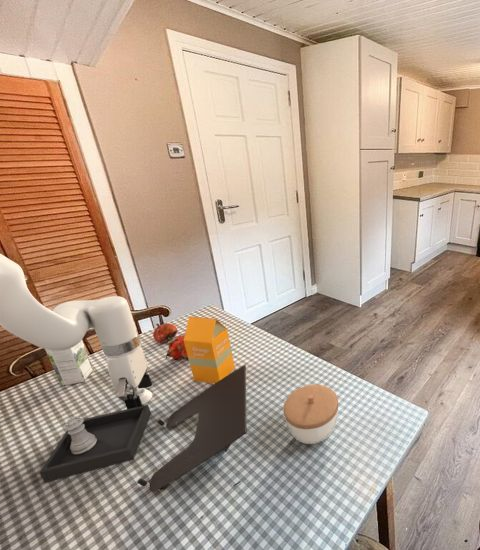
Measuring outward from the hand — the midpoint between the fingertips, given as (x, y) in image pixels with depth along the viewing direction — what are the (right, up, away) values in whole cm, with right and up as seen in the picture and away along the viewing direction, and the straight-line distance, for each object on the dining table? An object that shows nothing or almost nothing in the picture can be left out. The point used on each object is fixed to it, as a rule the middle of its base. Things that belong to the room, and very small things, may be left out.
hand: (140, 397), depth 83 cm
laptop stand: (+24, -6, -11) cm, 27 cm away
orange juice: (+15, +3, +10) cm, 19 cm away
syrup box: (-26, +2, +9) cm, 27 cm away
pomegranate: (-10, +9, +27) cm, 30 cm away
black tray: (+1, -6, -12) cm, 14 cm away
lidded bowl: (+49, -5, -9) cm, 50 cm away
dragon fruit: (+1, +6, +19) cm, 20 cm away
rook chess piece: (-3, -6, -13) cm, 15 cm away
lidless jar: (0, -1, 0) cm, 1 cm away
